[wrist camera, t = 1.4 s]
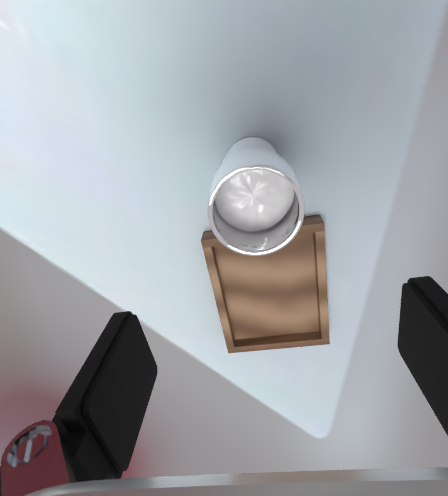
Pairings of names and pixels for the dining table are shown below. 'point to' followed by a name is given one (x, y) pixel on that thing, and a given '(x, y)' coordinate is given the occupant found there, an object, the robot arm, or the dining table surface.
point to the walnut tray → (272, 292)
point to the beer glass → (255, 199)
